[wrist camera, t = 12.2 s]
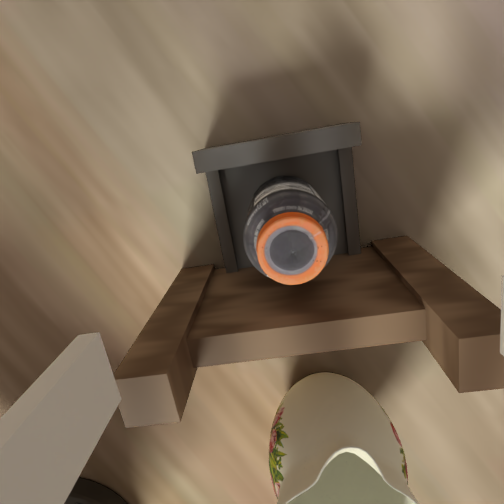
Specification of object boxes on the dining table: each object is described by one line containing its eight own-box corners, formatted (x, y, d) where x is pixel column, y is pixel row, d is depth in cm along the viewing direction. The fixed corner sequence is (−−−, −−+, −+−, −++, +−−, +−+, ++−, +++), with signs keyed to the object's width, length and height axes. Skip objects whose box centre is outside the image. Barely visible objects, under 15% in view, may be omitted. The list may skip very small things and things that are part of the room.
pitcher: (275, 476, 41) (277, 636, 28) (263, 332, 36) (259, 449, 23) (377, 474, 41) (427, 638, 27) (381, 326, 35) (445, 444, 22)
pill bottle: (298, 256, 32) (312, 319, 22) (237, 225, 32) (219, 275, 21) (334, 195, 31) (368, 230, 20) (269, 161, 30) (268, 179, 19)
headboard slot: (189, 298, 35) (125, 428, 20) (154, 157, 31) (43, 184, 16) (408, 268, 33) (524, 386, 18) (400, 113, 29) (540, 96, 14)
